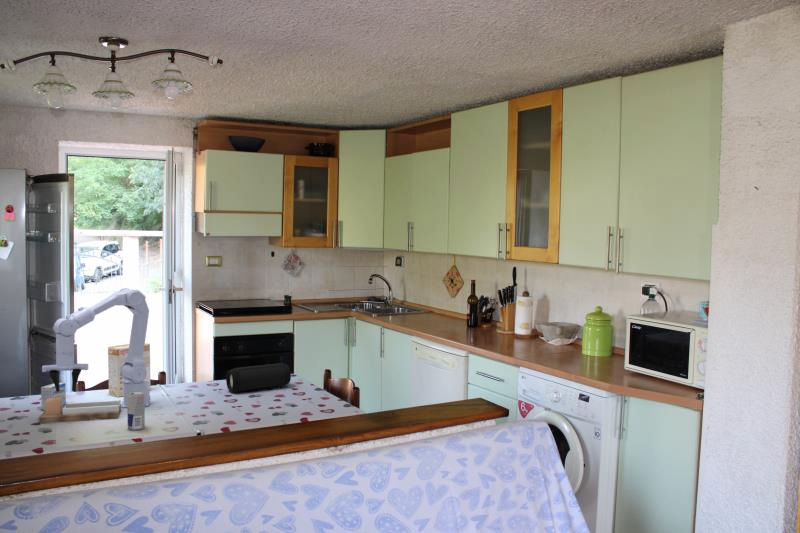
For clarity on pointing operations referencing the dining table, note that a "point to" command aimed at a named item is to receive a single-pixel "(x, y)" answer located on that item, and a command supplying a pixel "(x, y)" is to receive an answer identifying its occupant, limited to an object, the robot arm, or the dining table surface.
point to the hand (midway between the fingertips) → (65, 390)
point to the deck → (77, 416)
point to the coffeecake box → (116, 362)
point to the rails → (91, 407)
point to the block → (54, 406)
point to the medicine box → (53, 394)
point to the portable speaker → (258, 377)
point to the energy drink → (136, 410)
